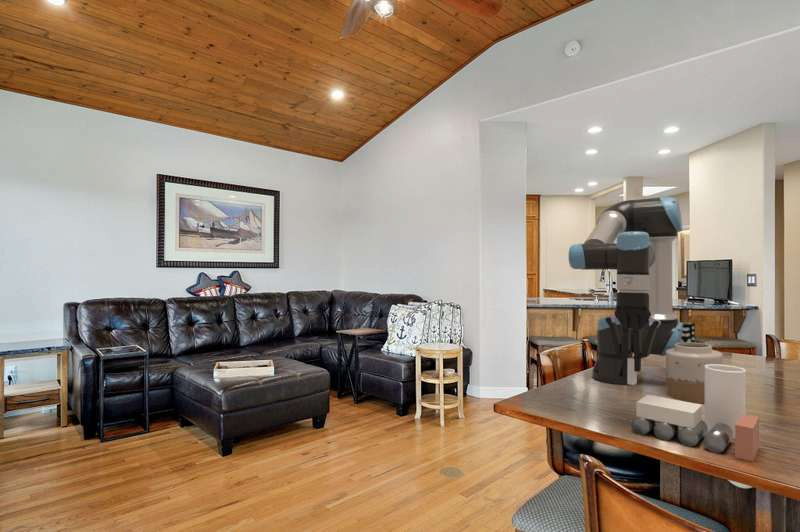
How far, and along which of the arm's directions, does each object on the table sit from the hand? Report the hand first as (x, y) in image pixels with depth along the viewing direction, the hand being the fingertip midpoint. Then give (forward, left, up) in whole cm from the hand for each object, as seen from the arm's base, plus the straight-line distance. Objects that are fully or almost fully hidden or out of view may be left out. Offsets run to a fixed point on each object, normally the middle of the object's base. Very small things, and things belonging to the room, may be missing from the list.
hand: (632, 383), depth 115 cm
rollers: (+11, 0, -11) cm, 15 cm away
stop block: (+24, 0, -11) cm, 26 cm away
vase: (+6, +42, -11) cm, 44 cm away
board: (+8, 0, -7) cm, 11 cm away
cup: (+18, +11, -11) cm, 24 cm away
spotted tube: (-5, +72, -11) cm, 73 cm away
